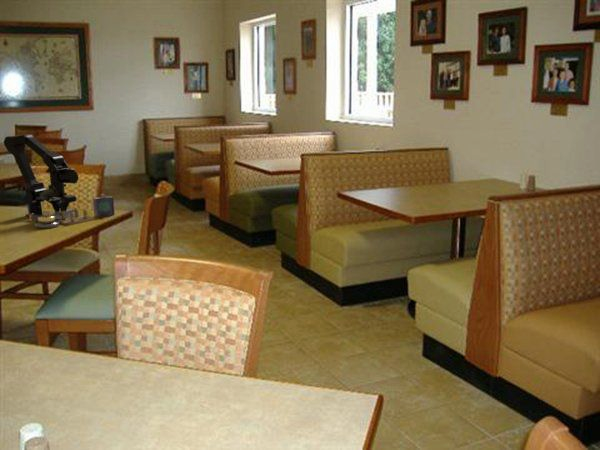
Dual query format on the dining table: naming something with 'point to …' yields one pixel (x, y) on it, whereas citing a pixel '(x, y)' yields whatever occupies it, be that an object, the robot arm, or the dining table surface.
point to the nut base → (46, 226)
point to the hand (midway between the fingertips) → (60, 215)
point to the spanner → (59, 216)
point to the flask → (103, 206)
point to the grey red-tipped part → (42, 218)
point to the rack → (74, 218)
